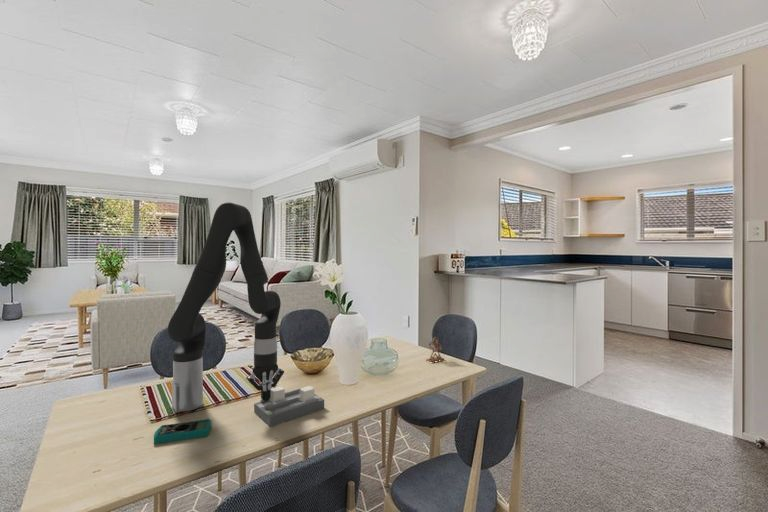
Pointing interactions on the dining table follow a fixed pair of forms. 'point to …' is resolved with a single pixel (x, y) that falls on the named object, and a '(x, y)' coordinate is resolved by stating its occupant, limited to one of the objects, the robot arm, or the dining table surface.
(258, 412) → the switch panel
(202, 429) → the digital multimeter
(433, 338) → the brown irregular upright piece
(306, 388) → the tab front
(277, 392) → the tab back
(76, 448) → the dining table surface
